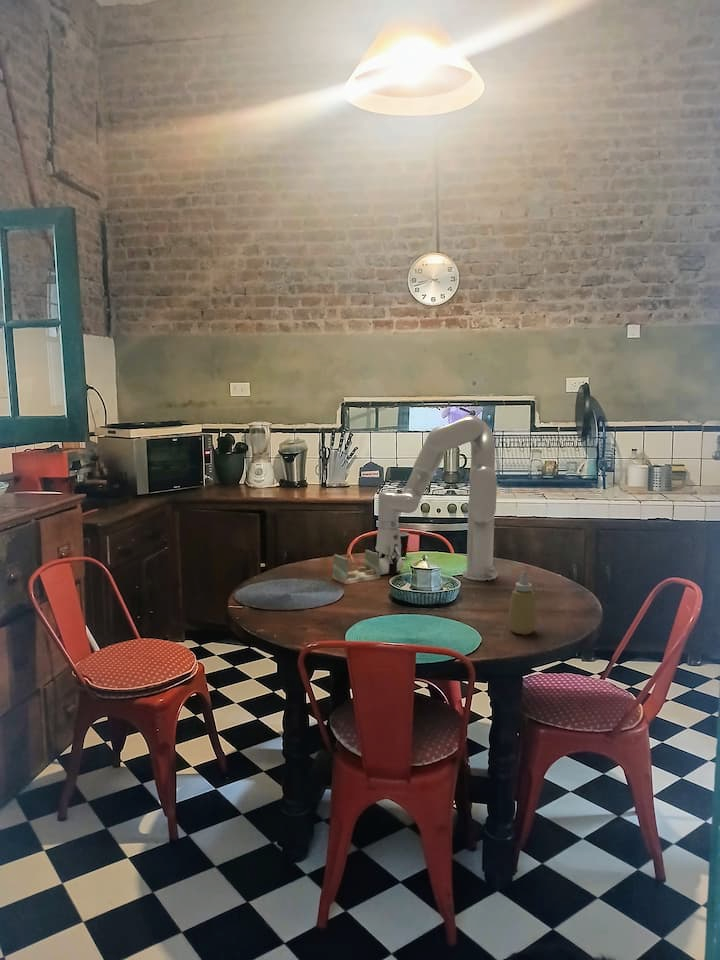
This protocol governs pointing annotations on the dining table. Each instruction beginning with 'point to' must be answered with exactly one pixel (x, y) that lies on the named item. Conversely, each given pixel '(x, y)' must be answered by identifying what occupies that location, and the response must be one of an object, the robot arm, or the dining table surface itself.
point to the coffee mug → (403, 543)
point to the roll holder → (362, 572)
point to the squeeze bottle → (523, 607)
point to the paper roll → (385, 565)
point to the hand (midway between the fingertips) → (387, 570)
